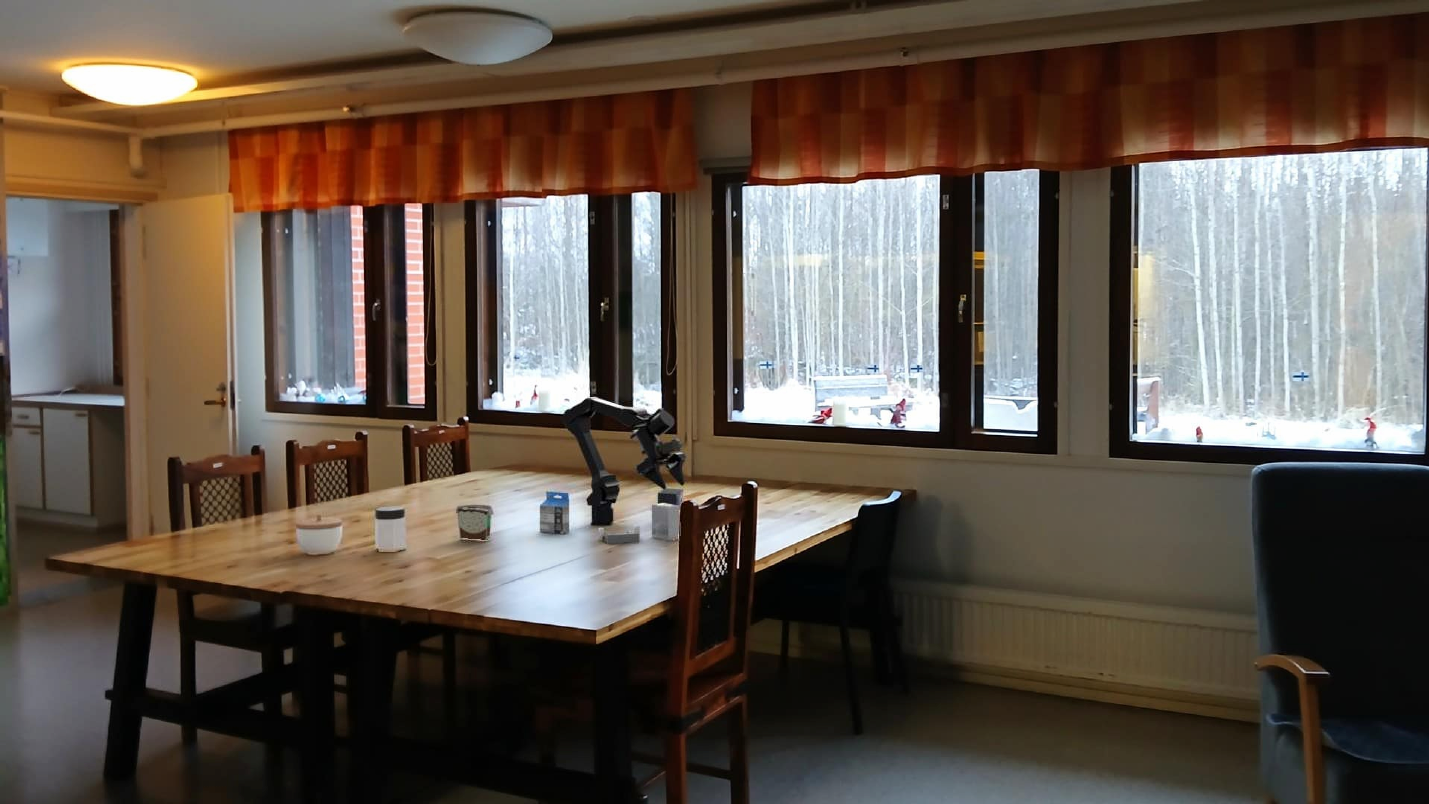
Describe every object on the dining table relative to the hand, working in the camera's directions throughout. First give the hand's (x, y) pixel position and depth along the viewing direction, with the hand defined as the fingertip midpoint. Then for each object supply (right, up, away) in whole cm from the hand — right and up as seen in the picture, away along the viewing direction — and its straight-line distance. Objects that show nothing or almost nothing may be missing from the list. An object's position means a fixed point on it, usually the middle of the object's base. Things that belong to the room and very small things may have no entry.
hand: (674, 486), depth 365 cm
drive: (-2, -15, -8) cm, 17 cm away
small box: (-2, -13, +19) cm, 23 cm away
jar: (-80, -17, -23) cm, 85 cm away
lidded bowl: (-99, -17, -27) cm, 104 cm away
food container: (-58, -15, -8) cm, 61 cm away
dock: (-16, -15, -9) cm, 24 cm away
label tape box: (-37, -14, +3) cm, 40 cm away
